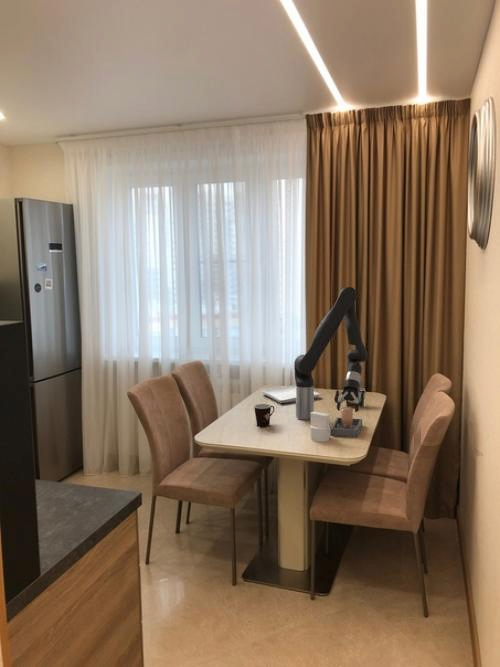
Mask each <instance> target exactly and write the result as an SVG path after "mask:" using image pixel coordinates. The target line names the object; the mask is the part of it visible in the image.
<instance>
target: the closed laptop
mask: <svg viewBox="0 0 500 667" xmlns="http://www.w3.org/2000/svg"><path fill="white" fill-rule="evenodd" d="M260 392H261V393H262V394H263V395H265V396H267V397H269V398H271V399H273V400H274V401H276V402H278V403H281V404H287V403H294V402H295V403H296V384H293V385H285V386H283V385H282V386H276V387H270V388H266V389H261V390H260ZM320 395H321V393H319V392H317V391H315V390H314V399H316V398H317V397H319V396H320Z"/></svg>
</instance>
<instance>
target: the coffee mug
mask: <svg viewBox="0 0 500 667" xmlns="http://www.w3.org/2000/svg"><path fill="white" fill-rule="evenodd" d="M253 408H254V414H255V422H256V426H257V427H258V426H260V427H259V428H267V427H269V426H270V420H271V416H272V415H273V414H274V412H275V406H273V405H271V404H268V403H258V404H255V405H254V406H253ZM271 411H272V412H271Z"/></svg>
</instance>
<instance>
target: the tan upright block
mask: <svg viewBox="0 0 500 667" xmlns="http://www.w3.org/2000/svg"><path fill="white" fill-rule="evenodd" d="M353 408H354V407H347V406H344V407H340V410H341V414H340V415H341V416H340V418H341V420H342V429H344V424H346V429H350V425H352V429H353V418H354V416H353V415H354V414H353V413H354V412H353V410H354V409H353Z"/></svg>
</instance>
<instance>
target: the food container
mask: <svg viewBox="0 0 500 667" xmlns="http://www.w3.org/2000/svg"><path fill="white" fill-rule="evenodd" d="M362 392H363V393H364V399H365V398H366V397H365V396H366V394H367V391H366V389H365V388H362V387H359V391H358V393H362ZM357 400H358V401H359V402H360V401H361V397H360V396H358V397H357ZM345 404H346V406H345V407H351V408H355V406H356V403H355V401H354V400H353V401H346V400H345ZM364 406H365V403H364V404H363V405H360V406H359V408H364Z"/></svg>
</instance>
